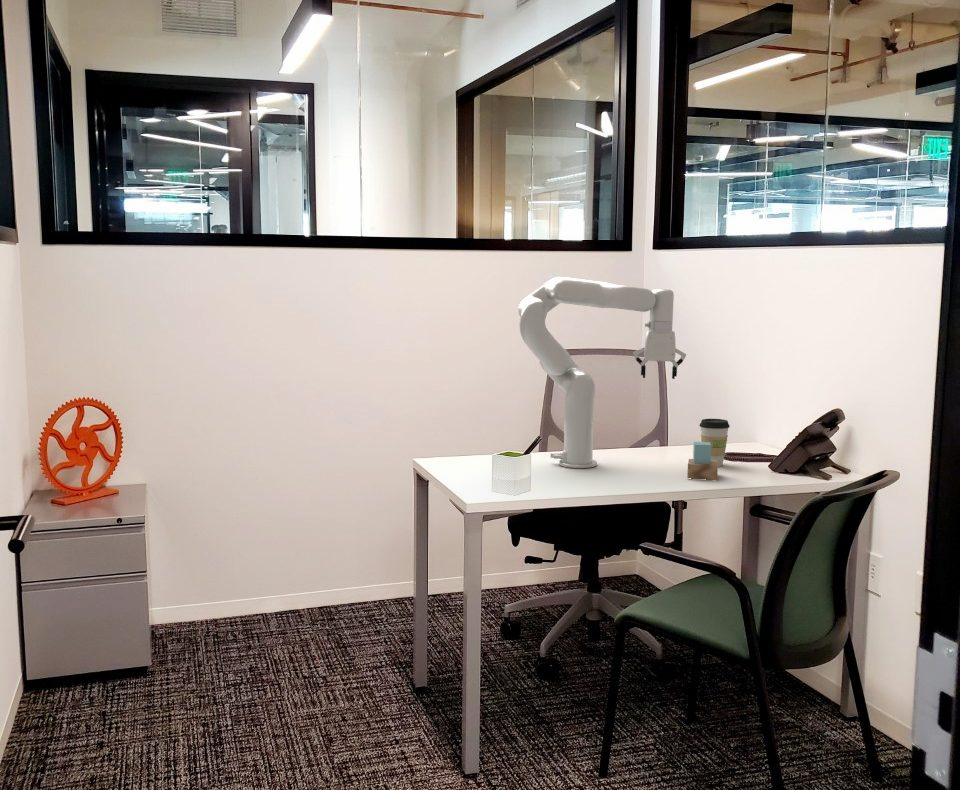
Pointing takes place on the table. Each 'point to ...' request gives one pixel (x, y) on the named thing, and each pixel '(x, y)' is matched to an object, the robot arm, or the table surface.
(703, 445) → the teal block
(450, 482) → the table surface
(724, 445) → the coffee cup
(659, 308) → the robot arm
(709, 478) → the walnut box
